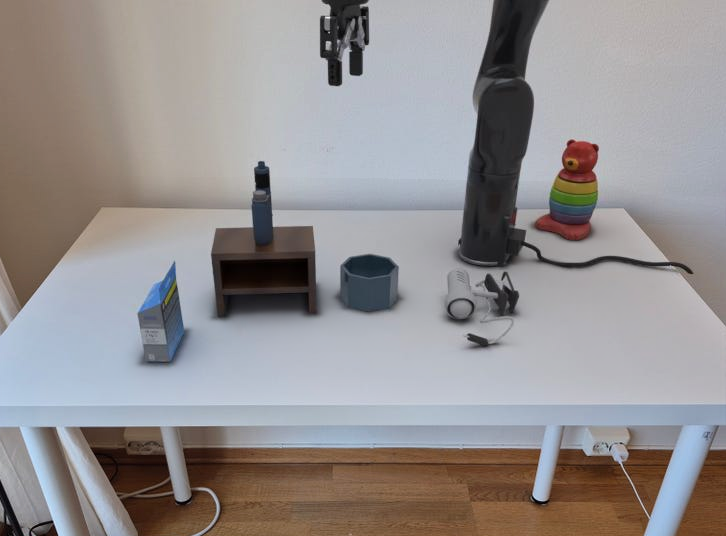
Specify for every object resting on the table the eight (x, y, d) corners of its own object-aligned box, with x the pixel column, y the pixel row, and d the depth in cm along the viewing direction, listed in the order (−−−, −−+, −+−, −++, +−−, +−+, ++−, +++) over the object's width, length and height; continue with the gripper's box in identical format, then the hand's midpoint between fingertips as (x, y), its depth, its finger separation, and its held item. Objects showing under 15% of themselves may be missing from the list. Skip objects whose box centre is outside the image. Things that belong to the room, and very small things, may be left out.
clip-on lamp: (519, 363, 108) (507, 288, 121) (531, 334, 104) (517, 259, 116) (444, 355, 108) (439, 280, 120) (452, 326, 103) (447, 251, 116)
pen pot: (402, 292, 122) (404, 260, 118) (383, 315, 115) (384, 282, 111) (355, 281, 125) (355, 250, 121) (333, 304, 118) (333, 271, 114)
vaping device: (275, 233, 114) (271, 159, 108) (268, 246, 110) (264, 170, 103) (259, 232, 114) (254, 159, 108) (252, 245, 110) (247, 170, 104)
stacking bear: (530, 226, 146) (544, 140, 137) (557, 214, 152) (573, 131, 142) (575, 242, 140) (593, 153, 130) (602, 229, 146) (621, 143, 136)
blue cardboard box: (160, 331, 110) (149, 258, 103) (185, 331, 110) (175, 259, 103) (144, 362, 102) (131, 287, 96) (171, 363, 102) (159, 287, 96)
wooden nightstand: (314, 285, 123) (312, 225, 117) (316, 313, 115) (315, 250, 109) (222, 288, 122) (215, 228, 116) (217, 317, 114) (210, 253, 107)
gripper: (348, -27, 101) (349, 91, 110) (384, -35, 112) (382, 73, 121) (302, -28, 103) (306, 87, 112) (341, -36, 114) (342, 70, 123)
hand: (346, 80), depth 116 cm, fingers open, 8 cm apart
